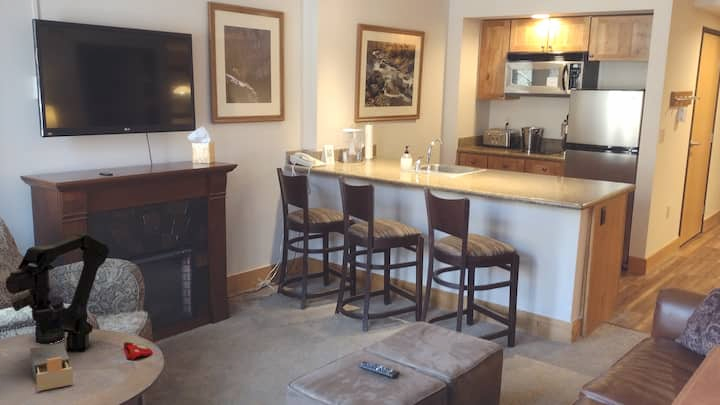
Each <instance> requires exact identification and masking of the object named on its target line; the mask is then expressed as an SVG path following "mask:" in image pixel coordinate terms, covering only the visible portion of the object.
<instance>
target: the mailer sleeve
mask: <svg viewBox="0 0 720 405" xmlns="http://www.w3.org/2000/svg"><path fill="white" fill-rule="evenodd" d="M66 349H67V348H66V347H65V345H64V343H63V342H62V343H61V342H60V343H56V344H51V345H44V346H43V345H41V346H38V347H37V346H35V347H30V350H29V352H30V366H31V371H32V375H33V380H34V383H37V377H36V366H38V365H43V364H47V359H52V358H58V357H61V360H62V361H66V362H67V365H68V367H69V368H70V358H69V355H68V351H66Z"/></svg>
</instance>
